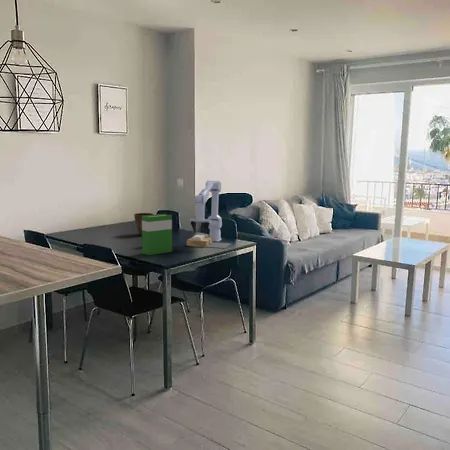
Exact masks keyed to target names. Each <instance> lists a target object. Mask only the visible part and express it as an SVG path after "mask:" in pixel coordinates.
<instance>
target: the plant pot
mask: <svg viewBox="0 0 450 450" xmlns="http://www.w3.org/2000/svg"><path fill="white" fill-rule="evenodd" d="M146 215H155V214H154V213H152V212H151V213H150V212H138V213H134V214H133V216H134V221H135V226H136V229H137V232H138V234H139V236H142V216H146Z"/></svg>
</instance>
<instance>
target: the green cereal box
mask: <svg viewBox="0 0 450 450" xmlns="http://www.w3.org/2000/svg"><path fill="white" fill-rule="evenodd" d="M172 218H173V216H172V214H166V213H160V214H159V213H158V214H154V215H146V216H142V235H141V244H142V245H141V247H142V248H141V251H142V252H141V253H142V254H143V255H147V256H152V255H153V256H154V255H157V254H158V255H159V254H166V253H172V252H173V219H172Z"/></svg>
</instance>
